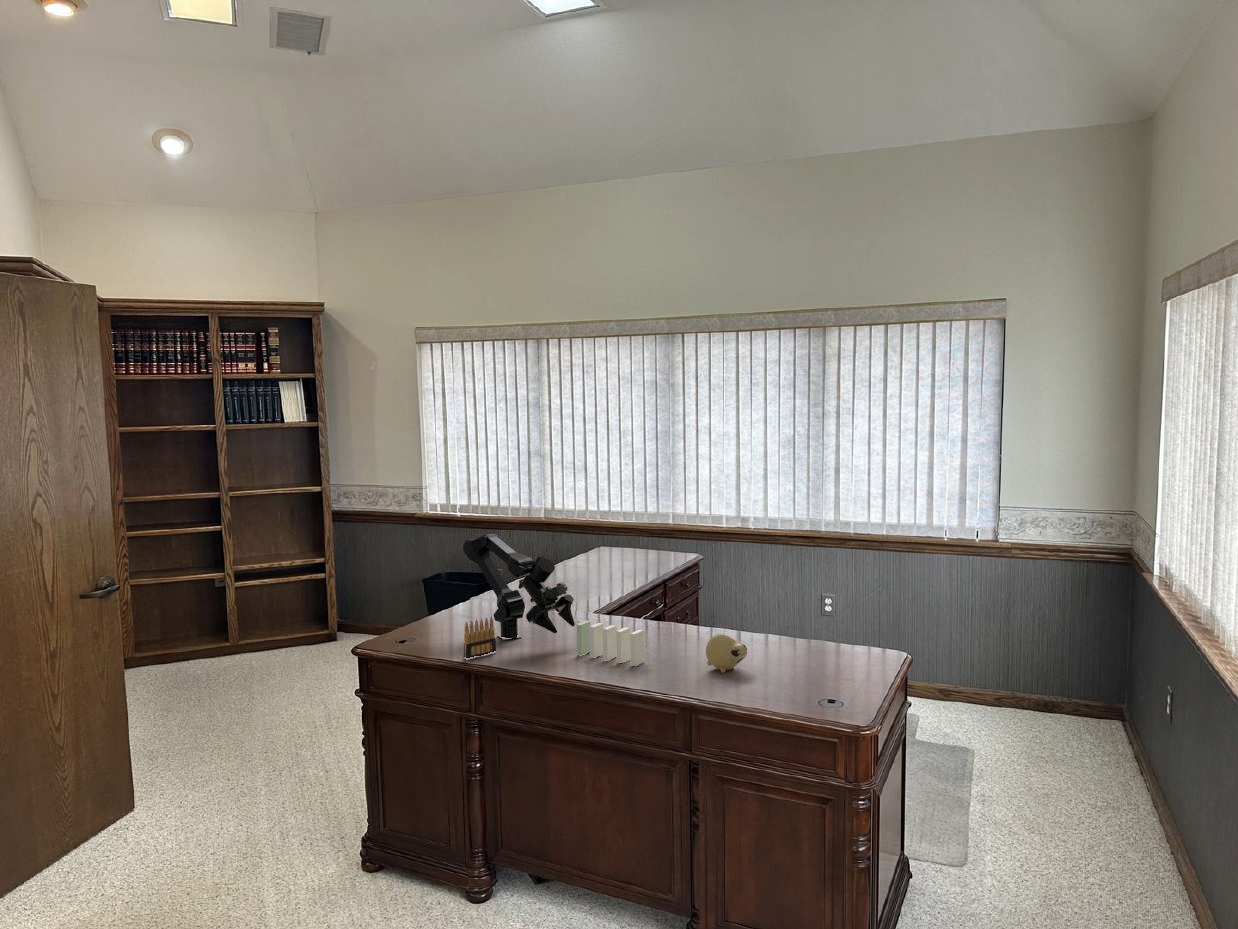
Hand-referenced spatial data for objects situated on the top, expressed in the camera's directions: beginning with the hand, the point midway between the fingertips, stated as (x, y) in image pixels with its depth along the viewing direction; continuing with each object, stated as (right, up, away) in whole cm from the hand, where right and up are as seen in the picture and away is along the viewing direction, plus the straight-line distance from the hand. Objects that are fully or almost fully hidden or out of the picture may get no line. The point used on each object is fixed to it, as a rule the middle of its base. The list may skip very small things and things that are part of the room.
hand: (565, 629), depth 275 cm
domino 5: (+23, -8, -15) cm, 28 cm away
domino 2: (+10, -7, -6) cm, 14 cm away
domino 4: (+19, -8, -12) cm, 23 cm away
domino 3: (+14, -7, -9) cm, 19 cm away
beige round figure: (+49, -8, -22) cm, 54 cm away
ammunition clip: (-26, -8, -4) cm, 28 cm away
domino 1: (+6, -7, -4) cm, 10 cm away
